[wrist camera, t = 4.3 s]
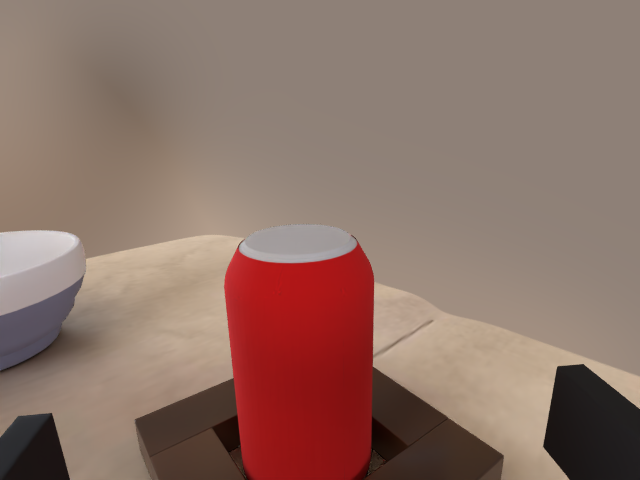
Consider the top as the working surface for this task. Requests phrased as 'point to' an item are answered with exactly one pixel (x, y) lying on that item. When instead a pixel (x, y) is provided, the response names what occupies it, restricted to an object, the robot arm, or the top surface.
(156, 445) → the holder
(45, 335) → the bowl
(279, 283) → the beverage can
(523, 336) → the top surface
